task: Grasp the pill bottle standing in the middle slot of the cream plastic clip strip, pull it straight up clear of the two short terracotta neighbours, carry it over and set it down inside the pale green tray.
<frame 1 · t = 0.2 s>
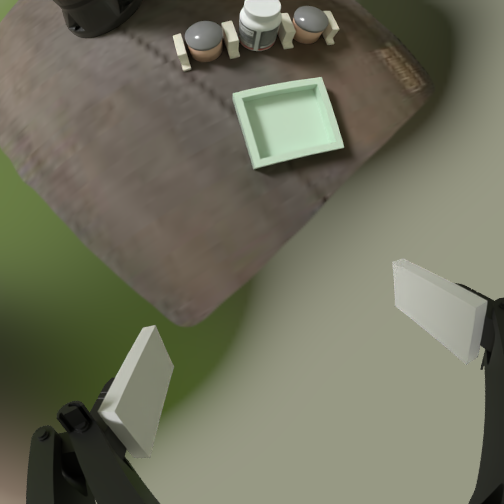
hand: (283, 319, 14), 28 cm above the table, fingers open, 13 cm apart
pill bottle: (256, 38, 34), on the table
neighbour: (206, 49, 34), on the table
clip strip: (256, 38, 34), on the table
tray: (286, 123, 38), on the table
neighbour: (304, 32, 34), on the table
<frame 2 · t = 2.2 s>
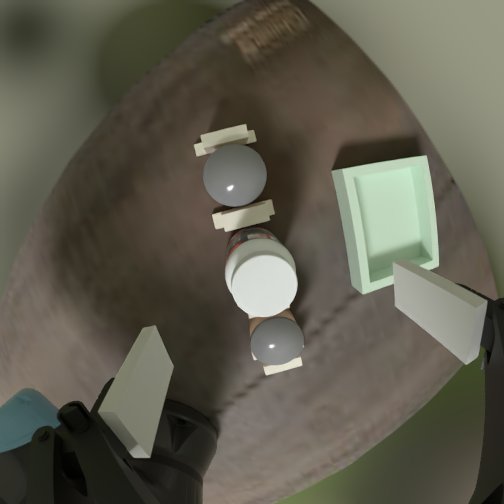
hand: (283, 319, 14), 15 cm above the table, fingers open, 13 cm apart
pill bottle: (253, 253, 29), on the table
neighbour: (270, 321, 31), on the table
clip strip: (253, 254, 29), on the table
tray: (385, 219, 29), on the table
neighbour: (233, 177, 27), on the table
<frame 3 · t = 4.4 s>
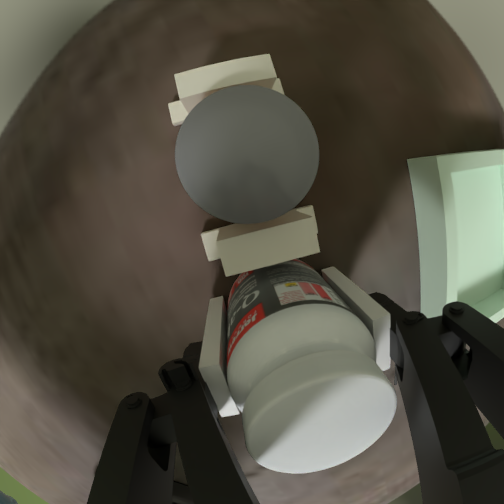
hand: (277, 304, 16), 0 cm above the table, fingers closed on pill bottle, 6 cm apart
pill bottle: (276, 300, 16), on the table, touching gripper
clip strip: (276, 302, 16), on the table
tray: (469, 238, 16), on the table
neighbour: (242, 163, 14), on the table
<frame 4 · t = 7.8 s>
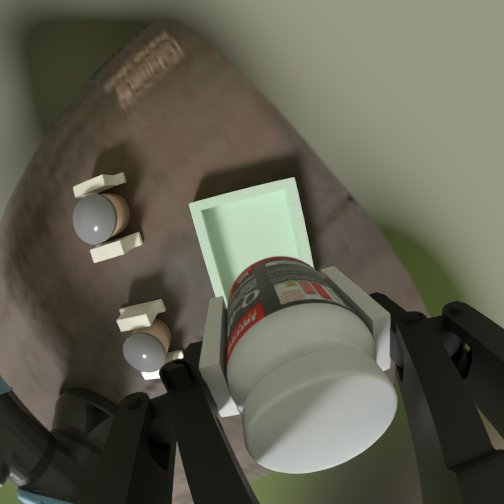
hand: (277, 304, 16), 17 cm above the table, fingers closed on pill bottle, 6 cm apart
pill bottle: (276, 300, 16), point 16 cm above the table, touching gripper
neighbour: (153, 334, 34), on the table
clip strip: (130, 277, 32), on the table
tray: (254, 245, 32), on the table
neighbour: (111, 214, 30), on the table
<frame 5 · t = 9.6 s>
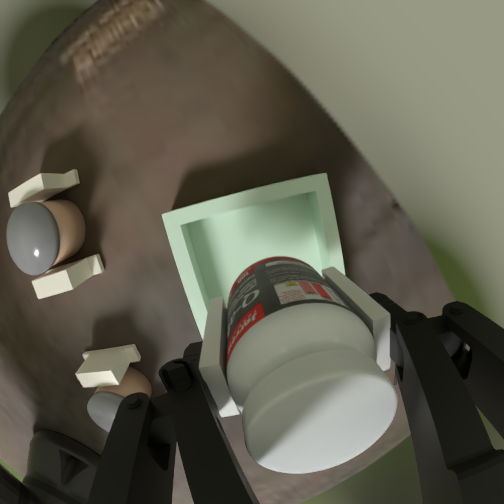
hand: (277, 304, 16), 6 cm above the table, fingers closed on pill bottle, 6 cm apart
pill bottle: (276, 300, 16), point 6 cm above the table, touching gripper
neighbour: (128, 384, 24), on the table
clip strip: (92, 315, 22), on the table
tray: (263, 273, 22), on the table
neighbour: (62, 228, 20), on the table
when the fingers open (3 cm above the table, at t = 11.0 s): pill bottle drops 2 cm, resting on tray.
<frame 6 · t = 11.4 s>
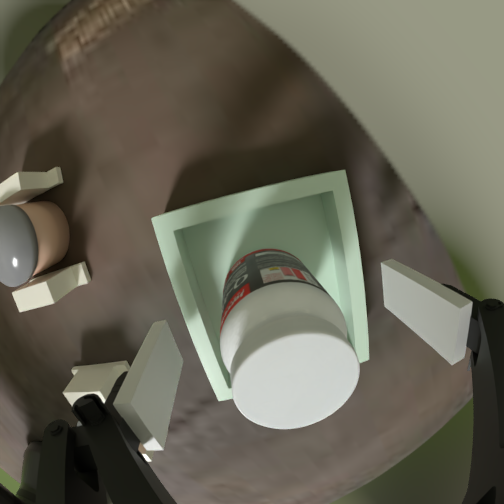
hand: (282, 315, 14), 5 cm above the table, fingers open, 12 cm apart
pill bottle: (266, 288, 19), resting on tray
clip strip: (80, 328, 19), on the table
tray: (270, 285, 19), on the table
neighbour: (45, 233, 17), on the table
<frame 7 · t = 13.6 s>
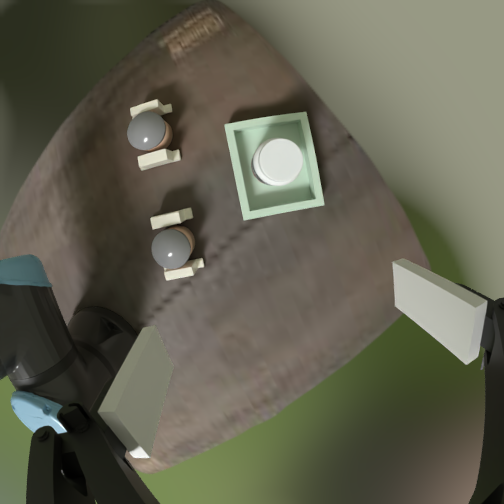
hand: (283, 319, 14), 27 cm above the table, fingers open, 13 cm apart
pill bottle: (271, 165, 38), resting on tray
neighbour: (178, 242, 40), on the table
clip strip: (166, 188, 38), on the table
tray: (273, 165, 38), on the table
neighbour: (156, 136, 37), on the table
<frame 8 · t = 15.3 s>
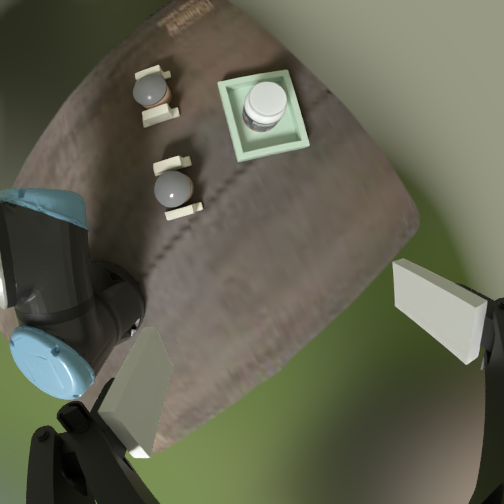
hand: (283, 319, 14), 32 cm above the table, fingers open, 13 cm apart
pill bottle: (260, 116, 41), resting on tray
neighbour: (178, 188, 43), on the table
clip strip: (166, 141, 41), on the table
tray: (261, 116, 41), on the table
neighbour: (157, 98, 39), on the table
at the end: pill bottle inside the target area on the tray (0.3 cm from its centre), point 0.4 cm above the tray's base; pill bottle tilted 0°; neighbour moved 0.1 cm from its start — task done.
